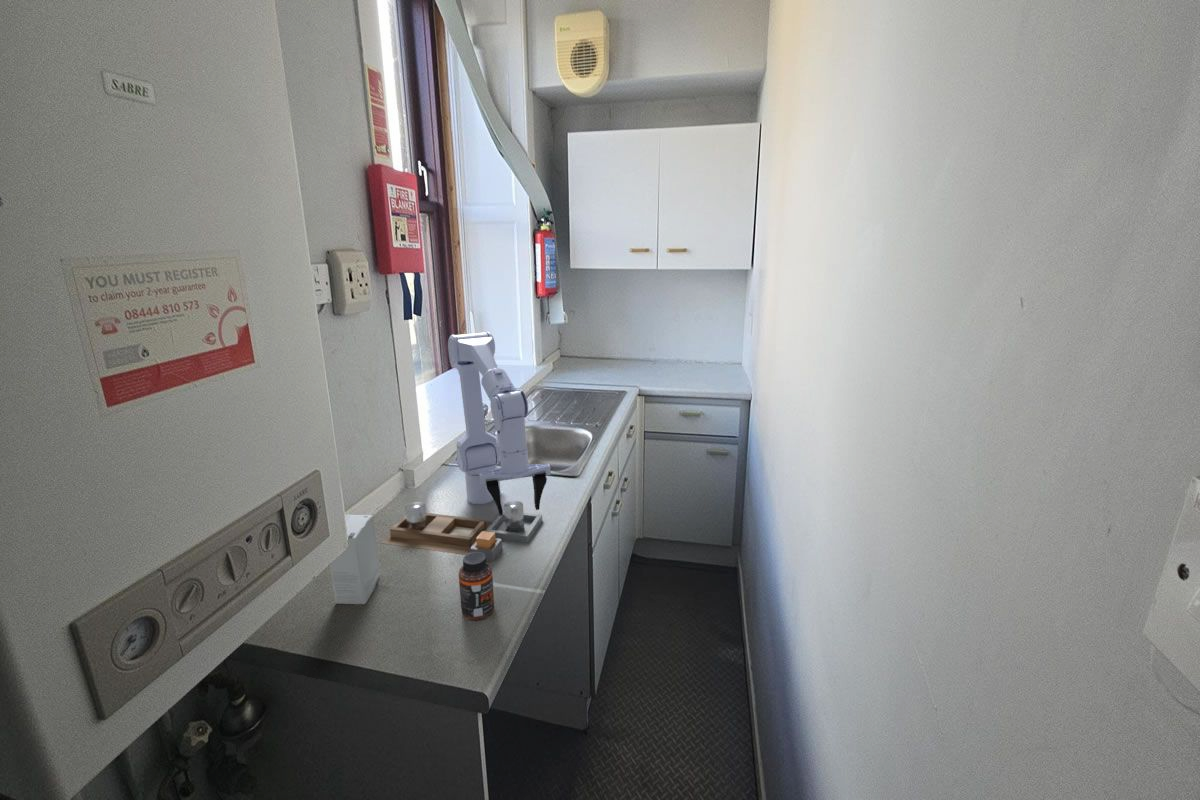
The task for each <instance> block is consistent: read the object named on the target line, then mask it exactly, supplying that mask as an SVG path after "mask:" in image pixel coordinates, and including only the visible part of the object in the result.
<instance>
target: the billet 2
mask: <svg viewBox="0 0 1200 800" xmlns="http://www.w3.org/2000/svg"><path fill="white" fill-rule="evenodd" d="M503 510H504V517H505V518H504V528H505V531H507V532H515V533H519V532H522V531H523V530H524V513H525V512H524V504H523V502H522V501H519V500H511V501H508V502H506V503H504V505H503Z"/></svg>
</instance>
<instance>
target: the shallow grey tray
mask: <svg viewBox="0 0 1200 800" xmlns="http://www.w3.org/2000/svg"><path fill="white" fill-rule="evenodd" d="M502 512H503V515H502V516H499V515H498V516H497V517H496V518H495V519H494V521H492V522H493V523H492V524H491V525H490V526H489V528H488V529H487V530H486V531H487V532H494V533H495V538H499V539H502V541H503V540H504V541H511V542H519V543H526V544H527V543H529V541H531V538H532V537H533V535H534V534H535V532H536V531H537V529H538V528H539V526H540V525H541V523H542V522H543V514H538V513H531V512H530V513H529V512H524V530H523V531H522V532H519V533H515V532H507V531H506V530H505V531H504V530H497V529H498V527H499V526H500V524H501V523H502V522H503V521H504V520H505V517H504V509H502Z"/></svg>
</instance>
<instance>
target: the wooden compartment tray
mask: <svg viewBox="0 0 1200 800" xmlns="http://www.w3.org/2000/svg"><path fill="white" fill-rule="evenodd" d="M426 516H427V526H426V527H425V528H424V529H423V530H414V529H408V528H407V520H406V514H405V515H404V516H403V517H401V519H399V521H397V522H396V523H394V524H393V525H392V526H391V527H390V528H389V535H388V536H386V537H385V538H384V539H383V540H381V542H380V544H385V545H392V546H399V547H407V548H414V549H421V550H427V551H434V552H435V551H436V552H441V553H442V552H443V553H444V552H445V553H449V554H450V553H451V554H456V555H457V554H458V555H464V556H465V555H467V554H469V553H471V552H470V548H471V547H472V546H473V545H474V543H475V542H476V538H477V536H478V535H479V534H480V533H481V532H482V531H486V530H487V529H488V528H489V526H490V525H491V524H492V523H493V522H494V521H488V520H486V519H480V518H471V517H463V516H455V515H449V514H448V515H446V514H438V513H429V512H426Z"/></svg>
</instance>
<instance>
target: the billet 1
mask: <svg viewBox="0 0 1200 800" xmlns="http://www.w3.org/2000/svg"><path fill="white" fill-rule="evenodd" d="M404 508H405V509H404V511H405V515H406V520H407V528H408V529H414V530H423V529H424V528H425V527H426V526H427V516H426V513H427V508H426V503H425V502H423V501H413V502H409V503H407V504H406V505H405V507H404Z"/></svg>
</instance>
